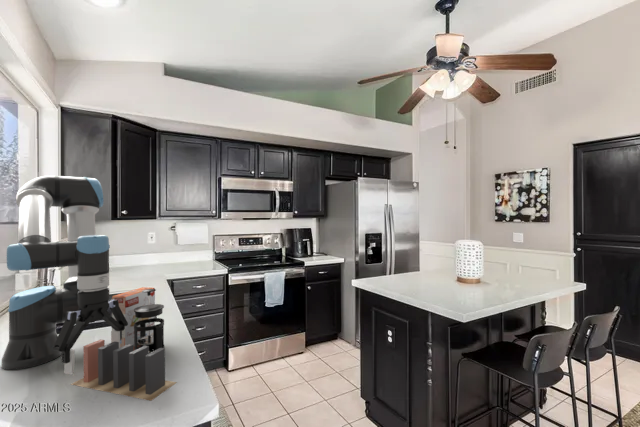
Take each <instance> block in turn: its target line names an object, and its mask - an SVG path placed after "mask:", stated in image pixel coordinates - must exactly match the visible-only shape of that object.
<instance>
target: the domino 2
mask: <svg viewBox="0 0 640 427" xmlns="http://www.w3.org/2000/svg"><path fill="white" fill-rule="evenodd" d="M132 351H134V344H127V345H125V346H123V347H120V348H118V349H116V350H114V351H113V388H120V387H121V386H123V385H125V384H127V383H128V382H129V353H130V352H132Z"/></svg>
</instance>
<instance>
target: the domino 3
mask: <svg viewBox="0 0 640 427" xmlns="http://www.w3.org/2000/svg"><path fill="white" fill-rule="evenodd" d="M149 353H150V351H149V346H143V347H141V348H139V349H136V350H134V351H132V352H130V353H129V391H133V392H134V391H136V390H137V389H139V388H141V387H142V386H144V385H145V384H146V381H145V355H147V354H149Z"/></svg>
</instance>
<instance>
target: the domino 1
mask: <svg viewBox="0 0 640 427" xmlns="http://www.w3.org/2000/svg"><path fill="white" fill-rule="evenodd" d="M118 348H119V342H112V343H111V342H110V343H108V344H105V346H103V347H100V348H98V385H105V384H106V383H108V382H110V381H112V380H113V351H114V350H116V349H118Z"/></svg>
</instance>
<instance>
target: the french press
mask: <svg viewBox="0 0 640 427" xmlns="http://www.w3.org/2000/svg"><path fill="white" fill-rule="evenodd" d="M153 291H157V289H156V288H155V289H146V290H143V291H142V292H147V296H148V305H144V306H140V307H137V308H135V309H134V312H135V317H137V318H149V319H145V320H141V321H138V322H136V323H135V324H134V350H136V349H139V348H141V347H143V346H149V352H150V351H152V352H153V351H155V350H157V349H159V348H165V344H164V342H165V341H164V340H165V339H164V338H165V337H164V336H165V335H164V330H165V329H164V325H165V319H164V318H161V317H160V318H159V317H158V316H160V315H162V314H163V311H164V310H163V309H164V308H165V305H164V304H160V303H159V304H158V303H155V304H151V305H150V295H151V292H153ZM150 317H155V318H151V319H150ZM150 322H155V323H158V324H155V325H154V326H150ZM145 323H149V326H148V327H146V324H145ZM138 325H140V327H137V326H138ZM150 330H153V335H150ZM137 331H140V338H138V339H137ZM146 331H149V335H147V336H146ZM137 345H138V346H140V347H138V348H137Z"/></svg>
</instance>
